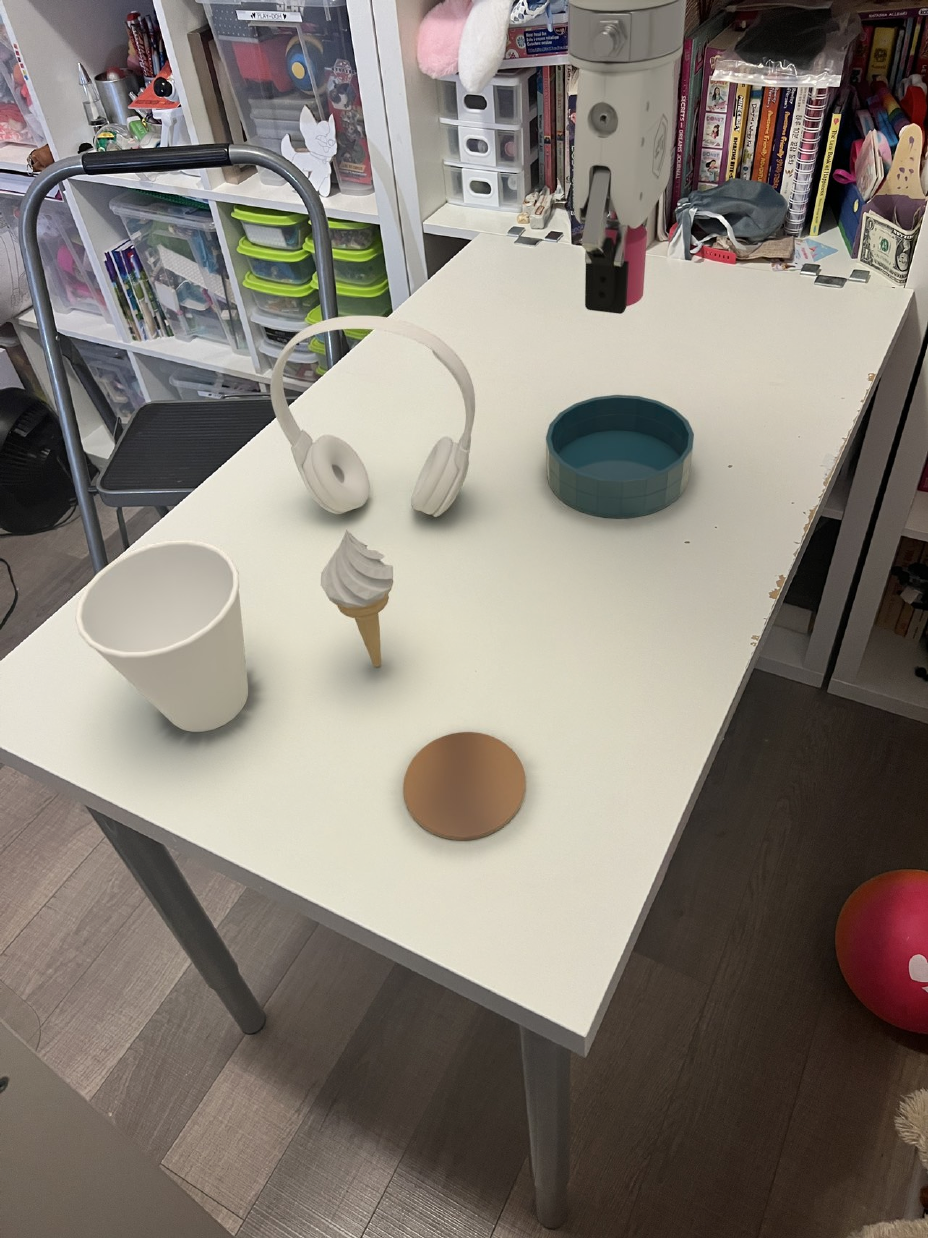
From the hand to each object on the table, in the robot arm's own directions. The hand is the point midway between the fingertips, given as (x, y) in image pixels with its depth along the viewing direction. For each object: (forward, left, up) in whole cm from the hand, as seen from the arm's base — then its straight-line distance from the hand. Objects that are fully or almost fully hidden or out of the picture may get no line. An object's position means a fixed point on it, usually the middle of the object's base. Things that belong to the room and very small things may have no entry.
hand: (615, 292), depth 71 cm
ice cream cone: (+27, +10, -21) cm, 36 cm away
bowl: (-3, -3, -21) cm, 21 cm away
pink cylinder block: (0, 0, 0) cm, 0 cm away
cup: (+41, +7, -21) cm, 47 cm away
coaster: (+25, +24, -21) cm, 41 cm away
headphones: (+19, -9, -21) cm, 30 cm away
